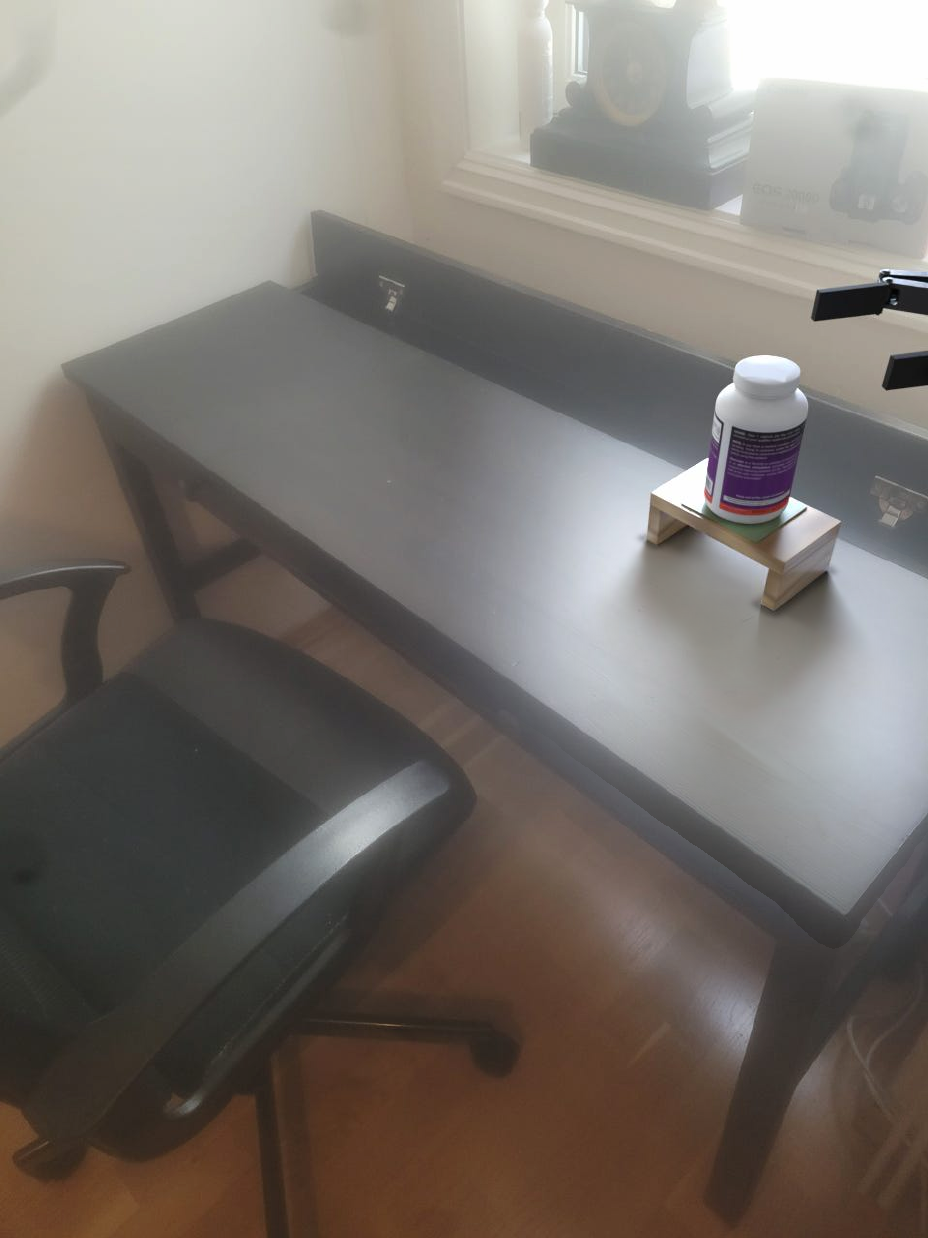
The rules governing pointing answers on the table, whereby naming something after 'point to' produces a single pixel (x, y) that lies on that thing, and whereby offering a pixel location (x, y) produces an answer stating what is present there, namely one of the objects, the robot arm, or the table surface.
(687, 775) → the table surface
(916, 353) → the robot arm
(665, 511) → the shelf
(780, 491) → the pill bottle
